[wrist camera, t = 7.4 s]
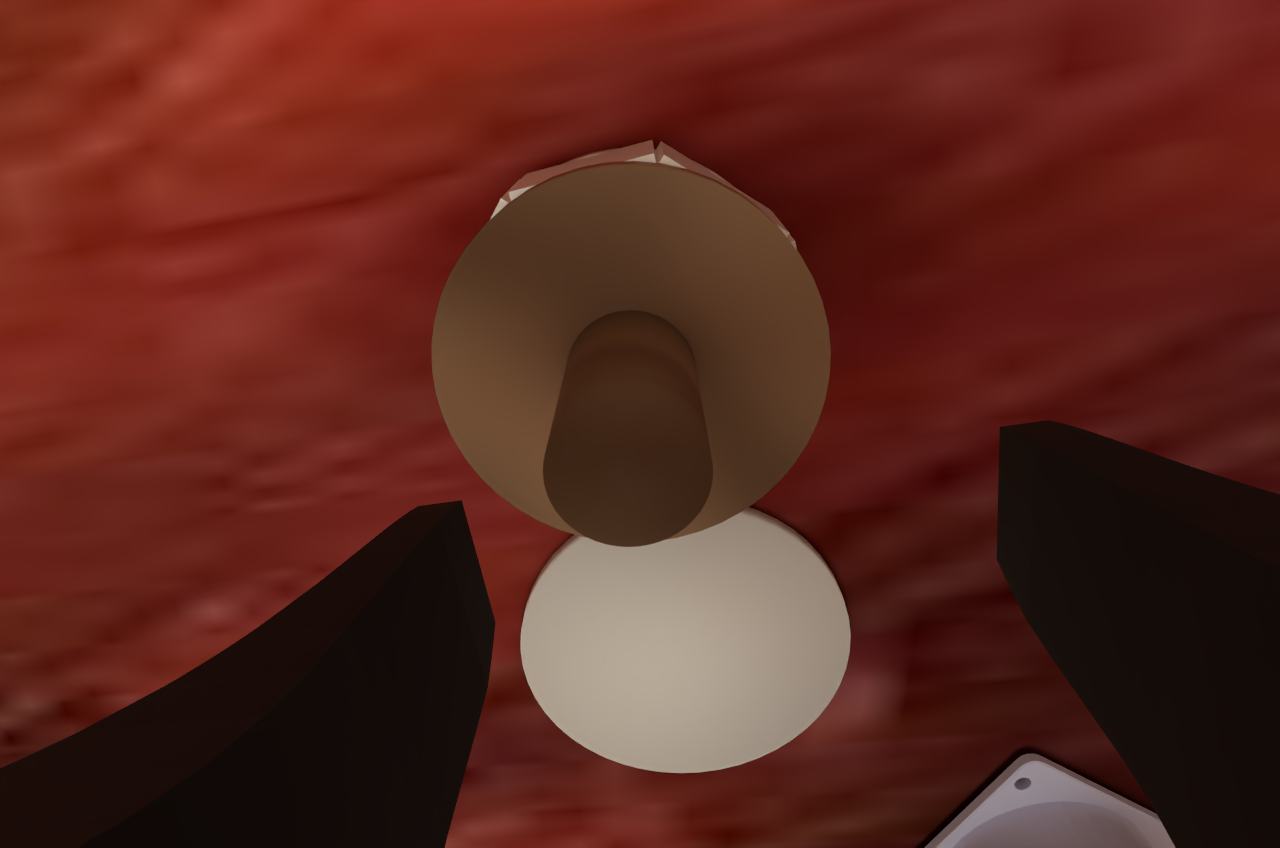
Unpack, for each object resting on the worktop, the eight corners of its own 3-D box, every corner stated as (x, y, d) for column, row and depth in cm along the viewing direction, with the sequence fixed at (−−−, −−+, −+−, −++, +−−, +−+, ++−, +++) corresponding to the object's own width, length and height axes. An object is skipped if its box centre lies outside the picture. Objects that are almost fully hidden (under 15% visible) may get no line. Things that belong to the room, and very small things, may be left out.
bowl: (680, 488, 23) (687, 560, 19) (430, 356, 21) (392, 410, 18) (844, 253, 20) (883, 291, 17) (571, 82, 18) (556, 88, 15)
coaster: (730, 798, 27) (732, 813, 27) (468, 682, 25) (464, 696, 25) (912, 591, 24) (918, 603, 23) (626, 438, 22) (625, 448, 21)
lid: (691, 577, 20) (706, 745, 15) (379, 419, 18) (285, 551, 13) (901, 295, 17) (1004, 390, 12) (554, 76, 15) (514, 86, 10)
